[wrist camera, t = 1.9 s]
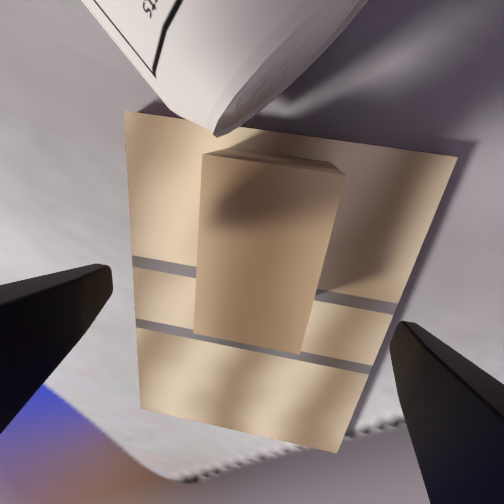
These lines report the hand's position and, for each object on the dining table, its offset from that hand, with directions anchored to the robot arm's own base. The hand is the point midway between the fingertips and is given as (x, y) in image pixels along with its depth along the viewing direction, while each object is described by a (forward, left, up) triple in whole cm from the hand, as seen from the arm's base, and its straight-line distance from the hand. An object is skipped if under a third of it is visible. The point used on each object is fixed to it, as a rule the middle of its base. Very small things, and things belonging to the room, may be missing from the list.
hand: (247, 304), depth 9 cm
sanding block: (0, 0, -7) cm, 7 cm away
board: (0, +6, -9) cm, 10 cm away
